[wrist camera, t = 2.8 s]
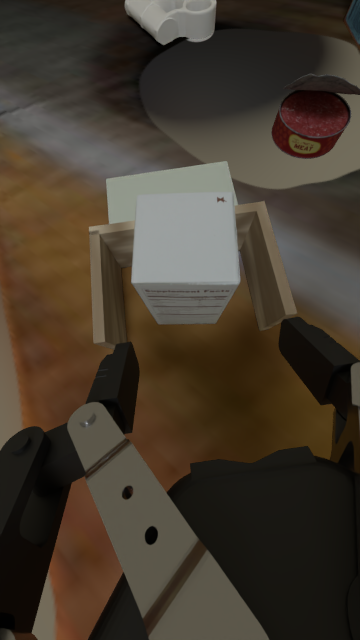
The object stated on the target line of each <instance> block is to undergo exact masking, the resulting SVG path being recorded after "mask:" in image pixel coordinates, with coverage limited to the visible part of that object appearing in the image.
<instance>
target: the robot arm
mask: <svg viewBox="0 0 360 640" xmlns="http://www.w3.org/2000/svg"><path fill="white" fill-rule="evenodd" d="M279 349H280V352H281V354H282V355H283V357H284V358H285V359H286V360H287V362H288V363H289V364H290V366H291V367H292V368H293V370H294V371H295V372H296V374H297V375H298V376H299V377H300V379H301V380H302V381H303V383H304V384H305V385H306V387H307V388H308V389H309V390H310V392H311V393H312V394H313V396H314V397H315V398H316V400H317V401H318V402H319V403H320V405H326V404H333V405H334V407H335V409H334V412H333V433H332V451H331V456H330V460H328V459H325V458H321V457H317V456H313V454H312V452H311V451H310V449H309V447H308V446H304V447H298V448H291V449H284V450H278V451H276V452H274V453H272V454H270V455H268V456H266V457H264V458H262V459H260V460H258V461H256V462H254V463H243V462H236V461H228V460H221V459H217V460H211V461H204V462H197V463H191V464H190V468H191V473H190V474H188V475H186V476H184V477H183V478H181V479H180V480H178V481H177V482H176V483H175V484H174V485H173V486H172V487H171V488H170V489H169V491H168V492H167V493H166V492H165V490H164V489H163V487H162V486H161V484H160V483H159V482H158V480H157V479H156V477H155V476H154V474H153V473H152V472H151V470H150V469H149V467H148V466H147V464H146V463H145V461H144V460H143V459H142V457H141V456H140V454H139V453H138V451H137V450H136V449H135V447H134V446H133V444H132V443H131V442H130V440H129V439H128V440H127V439H126V437H125V436H124V434H127V433H132V430H133V422H134V414H135V406H136V398H137V390H138V382H139V373H140V372H139V364H138V361H137V357H136V354H135V351H134V348H133V345H132V342H125V343H119V344H116V346H115V349H114V352H113V354H110V355H107V356H106V357H105V358H104V359H103V360H102V362H101V363H100V366H99V369H98V372H97V374H96V378H95V380H94V382H93V385H92V388H91V390H90V393H89V396H88V398H87V401H86V404H85V405H83V406H81V407H80V408H79V409H77V410H76V411H75V412H74V413H73V414H72V416H71V417H70V419H69V421H68V423H65V424H63V425H61V426H59V427H56V428H54V429H52V430H49V431H47V432H44V431H43V430H42V429H41V428H40V427H37V426H33V427H28V428H26V429H23V430H21V431H20V432H18V433H17V434H15V435H14V436H13V437H11V438H10V439H9V440H8V441H7V442H6V443H5V445H4V446H3V447H2V449H1V451H0V640H37V638H36V637H35V635H33V634H32V629H33V625H34V621H35V618H36V614H37V610H38V607H39V603H40V599H41V595H42V592H43V588H44V584H45V580H46V577H47V573H48V569H49V566H50V562H51V558H52V554H53V551H54V547H55V543H56V539H57V536H58V532H59V528H60V524H61V521H62V517H63V513H64V509H65V506H66V502H67V498H68V495H69V491H70V487H71V483H72V482H74V481H76V480H78V479H80V478H82V477H83V476H85V479H86V482H87V484H88V487H89V489H90V492H91V494H92V496H93V499H94V501H95V504H96V506H97V509H98V511H99V513H100V516H101V518H102V521H103V523H104V525H105V528H106V530H107V533H108V535H109V538H110V540H111V542H112V545H113V547H114V550H115V552H116V554H117V557H118V559H119V562H120V564H121V567H122V569H123V571H124V572H123V574H122V576H121V578H120V579H119V581H118V583H117V585H116V587H115V589H114V591H113V593H112V595H111V596H110V598H109V600H108V602H107V604H106V606H105V608H104V610H103V612H102V613H101V615H100V617H99V619H98V621H97V623H96V625H95V627H94V629H93V630H92V632H91V634H90V636H89V638H88V640H360V361H359V360H358V359H357V358H356V357H355V356H353V355H352V354H351V353H350V352H348V351H347V350H346V349H345V348H344V347H342V346H341V345H340V344H339V343H336V341H335V340H334V339H333V338H331V337H330V336H329V335H328V334H327V333H325V332H324V331H323V330H322V329H319V328H317V327H315V326H313V325H309V324H307V323H306V322H305V321H304V320H303V319H302V318H300V317H295V318H288V319H283V320H282V323H281V330H280V337H279Z"/></svg>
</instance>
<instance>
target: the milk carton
mask: <svg viewBox="0 0 360 640" xmlns="http://www.w3.org/2000/svg"><path fill="white" fill-rule="evenodd" d="M343 22H344V24H345V25H346V27H347V29H348V31H349V32H350V34H351V36H352V38H353V39H354V41H355V43H356V45H357V46H358V48H359V50H360V0H352V2H351V5H350V7H349V9H348V11H347V14H346V16H345V18H344V20H343Z"/></svg>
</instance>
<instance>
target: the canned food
mask: <svg viewBox="0 0 360 640" xmlns="http://www.w3.org/2000/svg"><path fill="white" fill-rule="evenodd" d="M284 89H292V90H295V91H293V92H291V93H289V94H288V95H287V96H286V97H285V98H284V99H283V101H282V102H281V104H280V108H279V111H278V114H277V116H276V120H275V122H274V125H273V127H272V139H273V141H274V143H275V145H276V146H277V147H278V148H279V149H280V150H281V151H282V152H284V153H286V154H287V155H290V156H292V157H296V158H302V159H312V158H317V157H320V156H323V155H325V154H326V153H328V152H329V151H330V150H331V149H332V148H333V147H334V145H335V144H336V142H337V140H338V139H339V137H340V136H341V134H342V133H343V131H344V129H345V128H346V127H347V125H348V124H349V122H350V118H351V110H350V107H349V105H348V103H347V102H346V101H345V100H344V99H343V98H342V97H341V96H340V95H338V94H337V93H342V94H357V95H360V89H359V88H358V87H357V86H355V85H353V84H351V83H349V82H348V81H347V80H345V79H344V78H341V77H338V76H334V75H322V76H316V75H314V74H309V75H306V76H303V77H302V78H299V79H297V80H296V81H294V82H293V83H292V84H289V85H287V86H286V87H284Z"/></svg>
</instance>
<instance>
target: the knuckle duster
mask: <svg viewBox="0 0 360 640" xmlns="http://www.w3.org/2000/svg"><path fill="white" fill-rule="evenodd" d="M125 10H126V12H127V14H128V15H129V16H131V17H132V18H133V19H134V20H135V21H136V22H138V23H139V24H140V25H141V27H142V28H143V29H145V30H146V31H147V32H148V33H149V34H151V35H152V36H153V37H154V38H155V40H156V41H157V42H159V43H161V44H163V45H165V44H167V43H169V42H171V41H173V40H174V39H175V38H177V37H188V38H189V39H187V40H188V41H191V42H202V41H205V40H207V39H209V38H210V37H211V36H212V35H213V33H214V28H215V14H216V0H126V1H125Z"/></svg>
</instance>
